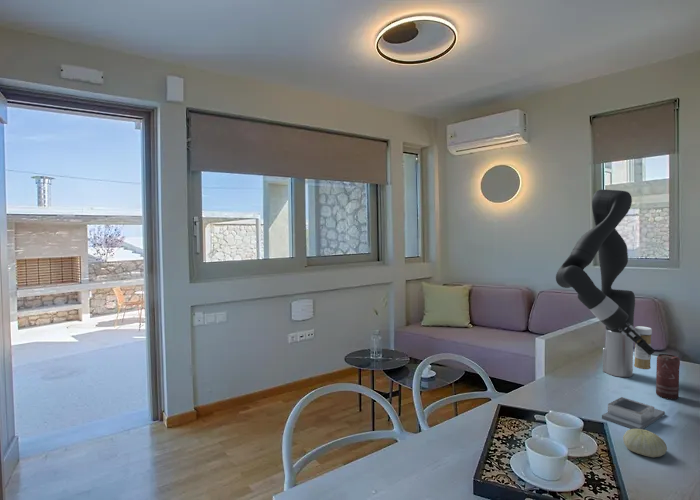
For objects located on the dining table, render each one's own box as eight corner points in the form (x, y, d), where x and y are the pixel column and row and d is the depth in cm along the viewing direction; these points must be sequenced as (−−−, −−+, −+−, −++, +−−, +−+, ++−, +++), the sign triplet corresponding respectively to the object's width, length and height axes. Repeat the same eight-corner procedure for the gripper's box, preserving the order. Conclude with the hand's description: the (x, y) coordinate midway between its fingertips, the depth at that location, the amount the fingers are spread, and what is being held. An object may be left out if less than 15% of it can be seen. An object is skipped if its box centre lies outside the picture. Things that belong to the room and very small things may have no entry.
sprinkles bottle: (640, 364, 141) (641, 325, 140) (654, 368, 136) (655, 328, 135) (630, 366, 139) (631, 326, 138) (644, 370, 135) (645, 329, 134)
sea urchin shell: (658, 458, 102) (634, 425, 106) (633, 468, 107) (611, 437, 112) (678, 448, 106) (653, 417, 111) (653, 459, 111) (631, 429, 116)
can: (683, 400, 139) (684, 359, 138) (661, 399, 140) (662, 358, 139) (673, 393, 145) (674, 353, 144) (652, 392, 146) (653, 353, 145)
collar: (607, 413, 128) (607, 404, 128) (621, 406, 133) (621, 397, 133) (641, 424, 120) (641, 414, 120) (654, 416, 125) (654, 406, 125)
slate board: (601, 418, 127) (601, 415, 127) (628, 403, 137) (628, 400, 137) (639, 431, 119) (639, 427, 118) (664, 414, 129) (664, 411, 129)
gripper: (622, 308, 132) (667, 349, 129) (612, 300, 146) (652, 337, 142) (603, 324, 135) (646, 364, 131) (594, 314, 148) (634, 351, 144)
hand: (649, 350), depth 137 cm, fingers closed on sprinkles bottle, 4 cm apart
